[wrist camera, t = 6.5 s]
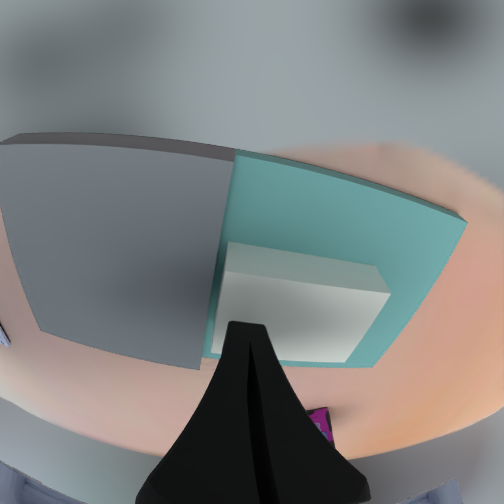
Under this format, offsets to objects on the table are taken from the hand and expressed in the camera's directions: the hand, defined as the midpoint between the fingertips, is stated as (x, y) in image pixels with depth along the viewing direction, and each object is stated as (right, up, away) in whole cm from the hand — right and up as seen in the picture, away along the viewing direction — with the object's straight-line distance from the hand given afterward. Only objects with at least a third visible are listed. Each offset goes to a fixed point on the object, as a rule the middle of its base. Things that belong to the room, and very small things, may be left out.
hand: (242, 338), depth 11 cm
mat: (+4, +2, +4) cm, 6 cm away
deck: (-7, +3, +2) cm, 8 cm away
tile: (+2, +1, +3) cm, 4 cm away
